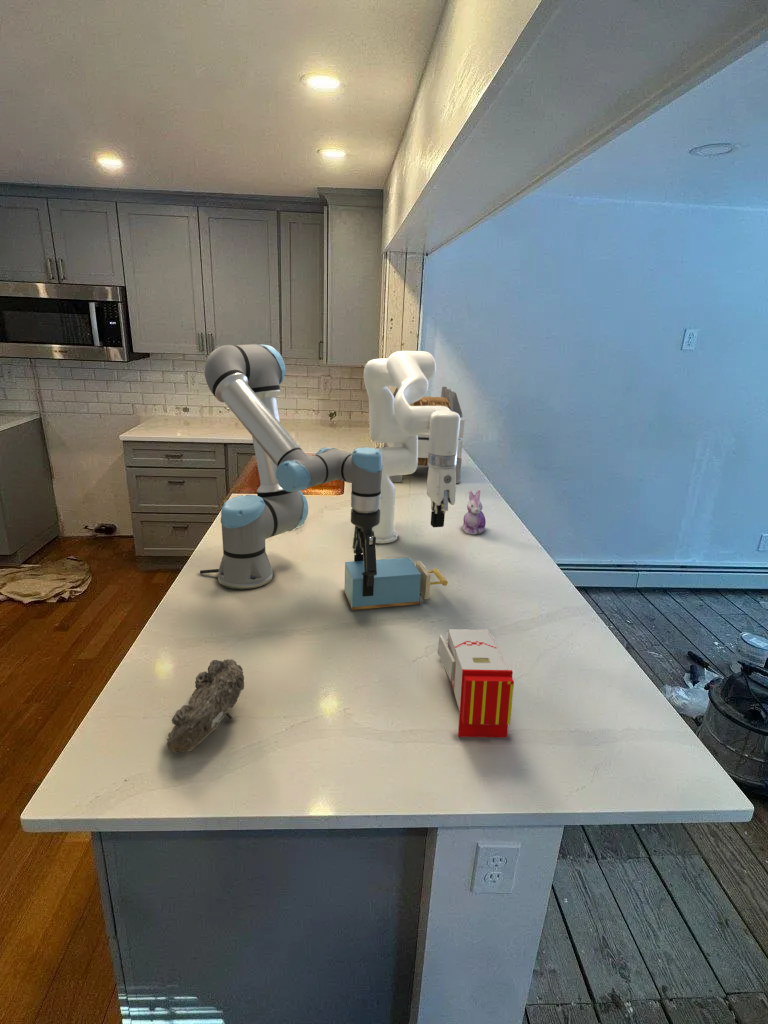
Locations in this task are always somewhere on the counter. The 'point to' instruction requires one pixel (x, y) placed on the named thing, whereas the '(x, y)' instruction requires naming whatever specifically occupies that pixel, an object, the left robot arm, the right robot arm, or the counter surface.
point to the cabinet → (383, 584)
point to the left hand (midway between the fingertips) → (363, 585)
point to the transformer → (446, 400)
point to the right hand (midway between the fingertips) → (437, 525)
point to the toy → (478, 682)
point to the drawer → (426, 577)
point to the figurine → (474, 515)
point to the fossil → (206, 705)
